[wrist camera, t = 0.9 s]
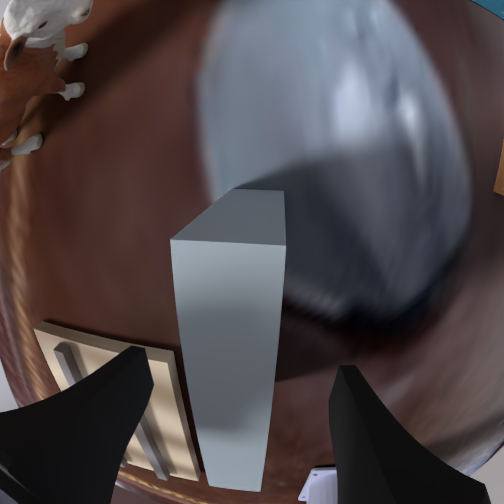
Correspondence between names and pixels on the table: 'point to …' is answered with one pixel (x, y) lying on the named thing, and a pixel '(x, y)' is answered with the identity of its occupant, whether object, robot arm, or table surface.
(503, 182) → the arch
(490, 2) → the data package
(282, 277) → the grey rectangular block
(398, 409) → the table surface
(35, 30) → the bull figurine
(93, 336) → the track board
